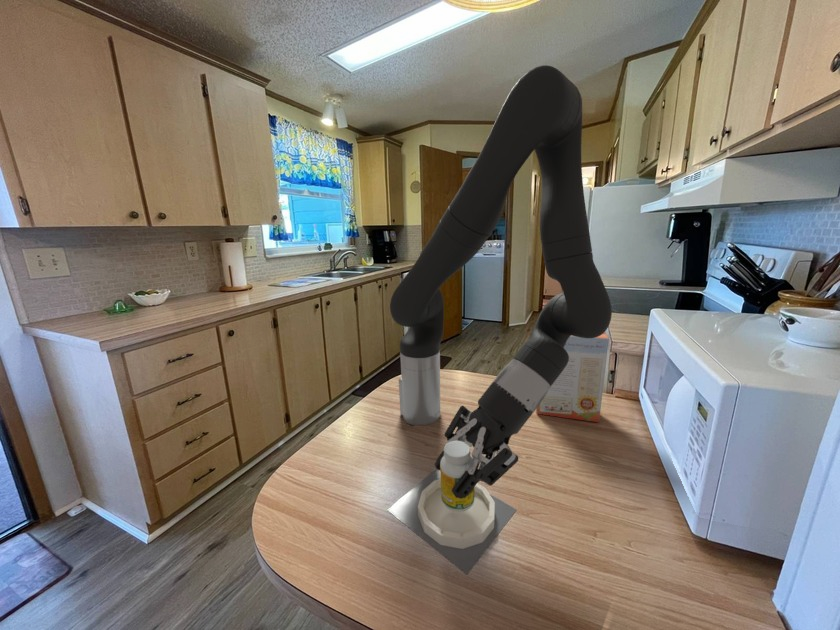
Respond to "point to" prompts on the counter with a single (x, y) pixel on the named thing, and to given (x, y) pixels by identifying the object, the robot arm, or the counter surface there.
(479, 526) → the bowl
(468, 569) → the slate board
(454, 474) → the supplement bottle
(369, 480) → the counter surface
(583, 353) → the cracker box
